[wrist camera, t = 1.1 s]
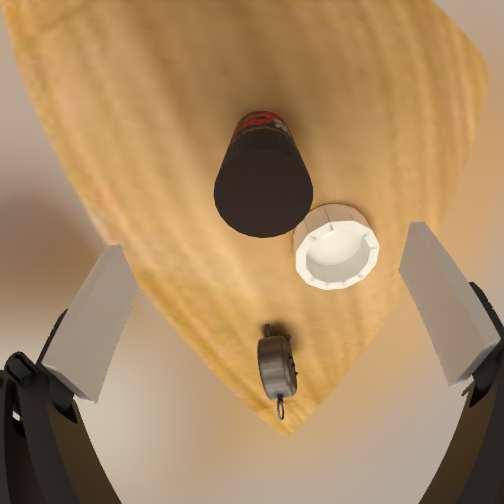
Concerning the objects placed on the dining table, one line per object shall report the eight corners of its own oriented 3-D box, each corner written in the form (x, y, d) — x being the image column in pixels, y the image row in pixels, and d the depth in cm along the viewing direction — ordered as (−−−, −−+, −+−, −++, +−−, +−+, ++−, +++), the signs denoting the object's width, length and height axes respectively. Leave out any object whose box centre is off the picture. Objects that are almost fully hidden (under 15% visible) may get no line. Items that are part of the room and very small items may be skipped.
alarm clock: (255, 321, 47) (254, 410, 34) (287, 316, 46) (293, 406, 33) (270, 354, 53) (271, 430, 40) (297, 349, 52) (303, 426, 39)
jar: (291, 206, 33) (295, 224, 30) (372, 201, 32) (384, 219, 29) (293, 271, 40) (296, 292, 36) (363, 265, 39) (371, 285, 35)
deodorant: (296, 121, 27) (328, 167, 15) (278, 168, 31) (291, 247, 19) (243, 104, 26) (228, 135, 14) (227, 153, 30) (204, 224, 18)
